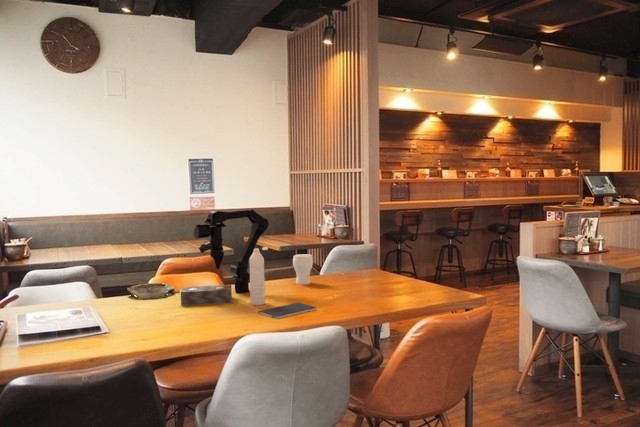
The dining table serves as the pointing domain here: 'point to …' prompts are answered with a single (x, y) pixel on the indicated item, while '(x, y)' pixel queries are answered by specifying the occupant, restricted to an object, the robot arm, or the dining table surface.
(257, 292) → the water bottle
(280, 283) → the dining table surface
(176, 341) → the dining table surface
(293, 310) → the notebook
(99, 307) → the dining table surface
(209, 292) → the block
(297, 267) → the cup
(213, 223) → the robot arm
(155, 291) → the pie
